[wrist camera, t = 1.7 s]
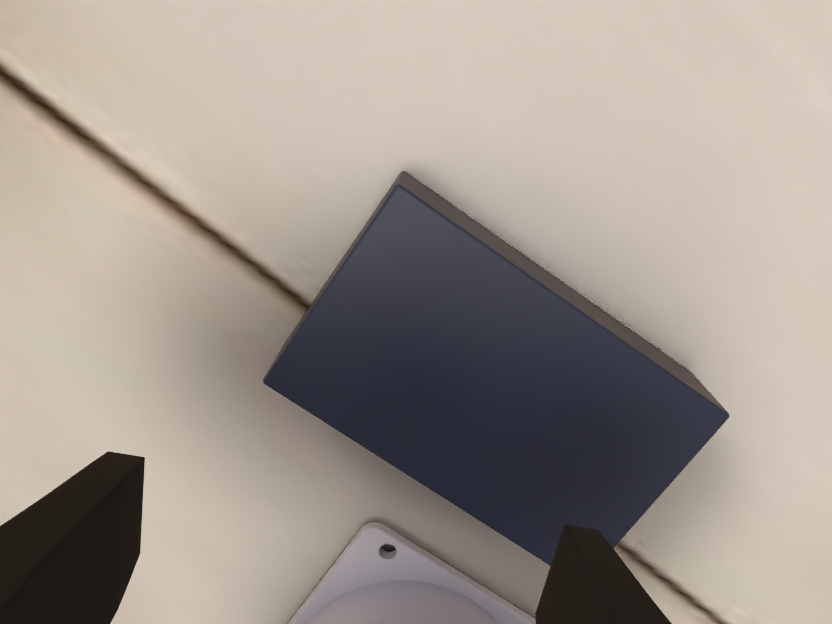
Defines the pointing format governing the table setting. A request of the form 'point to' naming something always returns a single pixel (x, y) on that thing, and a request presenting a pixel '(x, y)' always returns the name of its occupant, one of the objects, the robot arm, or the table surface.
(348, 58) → the table surface
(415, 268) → the navy blue rectangular block
